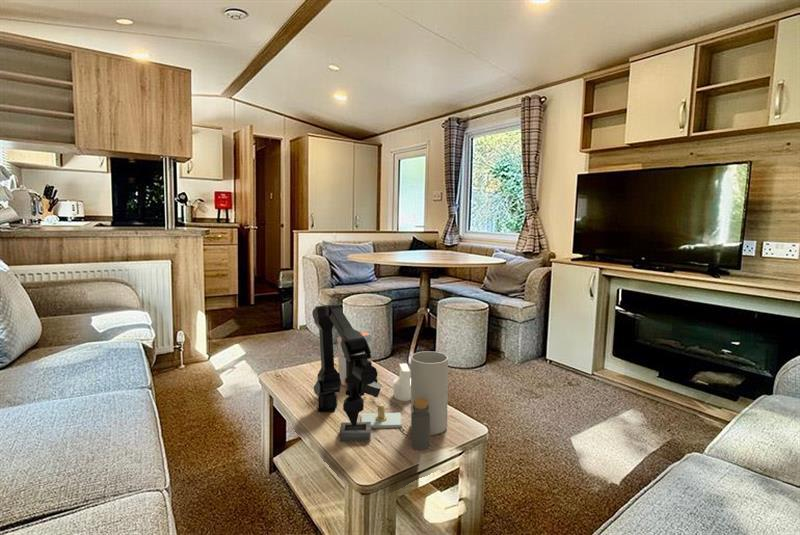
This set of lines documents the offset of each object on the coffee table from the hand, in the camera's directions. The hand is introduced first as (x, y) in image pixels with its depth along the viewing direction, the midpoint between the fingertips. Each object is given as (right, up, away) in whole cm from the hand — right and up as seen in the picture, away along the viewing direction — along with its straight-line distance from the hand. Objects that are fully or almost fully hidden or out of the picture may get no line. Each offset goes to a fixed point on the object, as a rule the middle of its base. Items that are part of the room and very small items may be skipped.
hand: (355, 419), depth 141 cm
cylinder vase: (+25, -5, +7) cm, 26 cm away
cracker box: (-5, 0, +47) cm, 47 cm away
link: (0, -6, +1) cm, 6 cm away
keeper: (+8, -5, +10) cm, 14 cm away
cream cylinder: (+17, -2, +32) cm, 36 cm away
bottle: (+21, -7, -5) cm, 23 cm away
